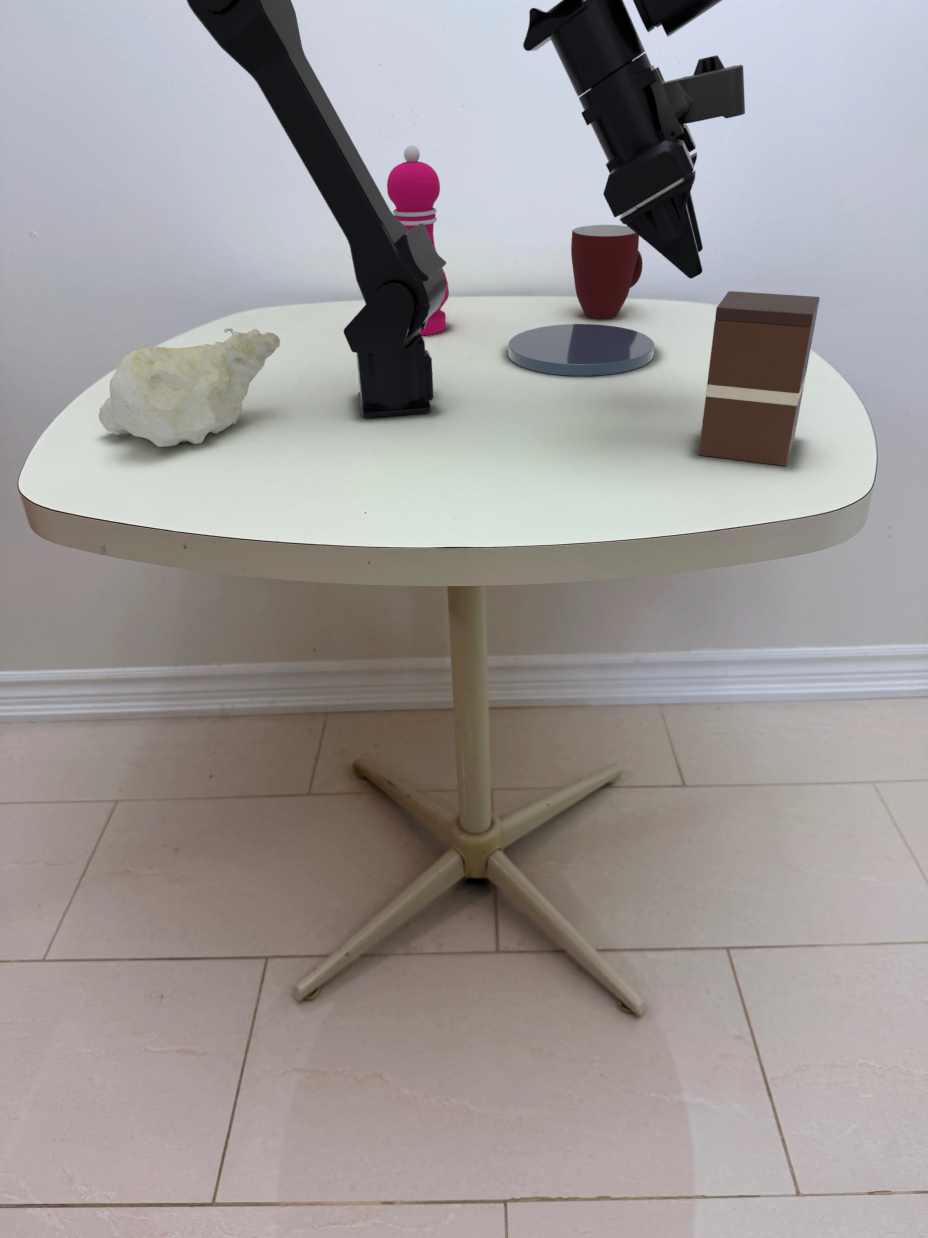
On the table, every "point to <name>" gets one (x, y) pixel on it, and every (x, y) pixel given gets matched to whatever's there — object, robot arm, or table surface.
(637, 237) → the mug
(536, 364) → the plate
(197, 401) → the white seashell
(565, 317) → the table surface
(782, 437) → the cake slice
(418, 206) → the pepper mill
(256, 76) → the robot arm
